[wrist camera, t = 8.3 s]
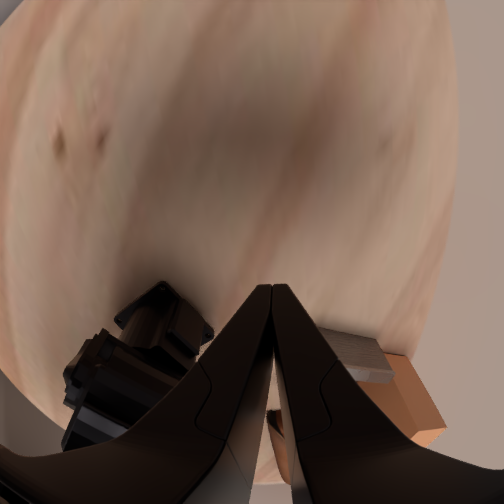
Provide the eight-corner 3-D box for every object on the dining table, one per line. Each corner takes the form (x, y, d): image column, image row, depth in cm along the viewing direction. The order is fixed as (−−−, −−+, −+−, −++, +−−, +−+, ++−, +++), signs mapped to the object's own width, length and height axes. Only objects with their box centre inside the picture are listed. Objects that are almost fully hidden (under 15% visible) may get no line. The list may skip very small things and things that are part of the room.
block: (354, 386, 28) (382, 462, 18) (379, 352, 26) (418, 431, 17) (382, 388, 28) (412, 458, 19) (406, 356, 26) (447, 427, 17)
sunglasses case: (335, 460, 35) (319, 494, 30) (294, 450, 39) (275, 482, 34) (340, 396, 28) (319, 445, 23) (283, 383, 32) (256, 426, 27)
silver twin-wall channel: (278, 384, 27) (283, 423, 23) (312, 325, 24) (326, 364, 20) (338, 392, 28) (349, 427, 24) (376, 338, 25) (395, 373, 21)
